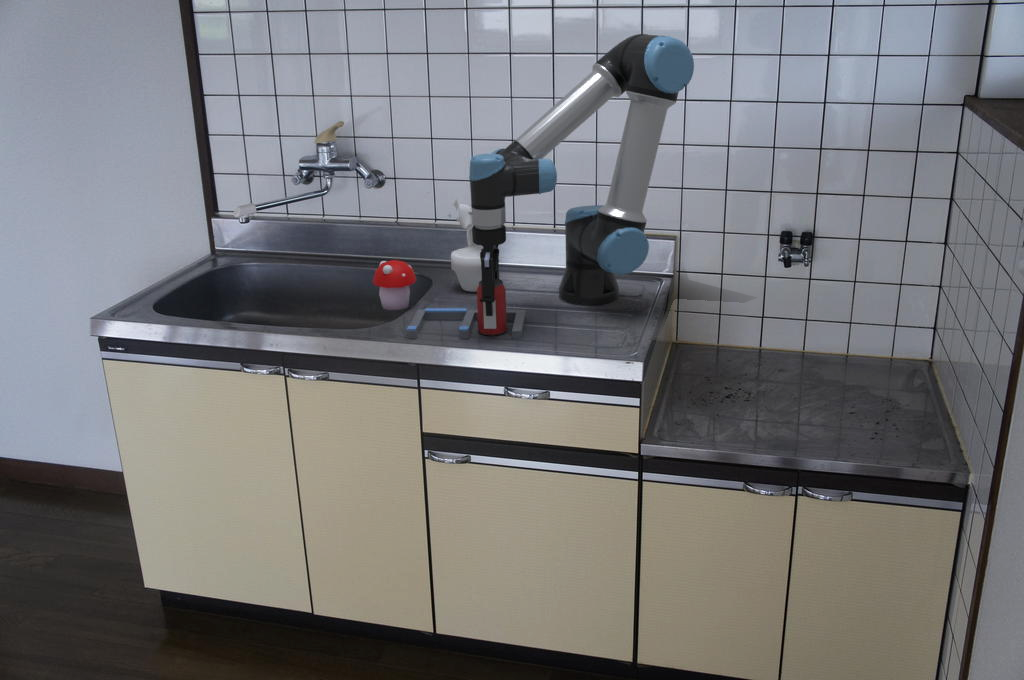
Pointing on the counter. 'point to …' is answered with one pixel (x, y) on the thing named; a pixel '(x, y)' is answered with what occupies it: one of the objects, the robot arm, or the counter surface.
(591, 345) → the counter surface
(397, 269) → the mushroom
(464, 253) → the potted plant
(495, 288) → the beer can
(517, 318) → the duct comb
